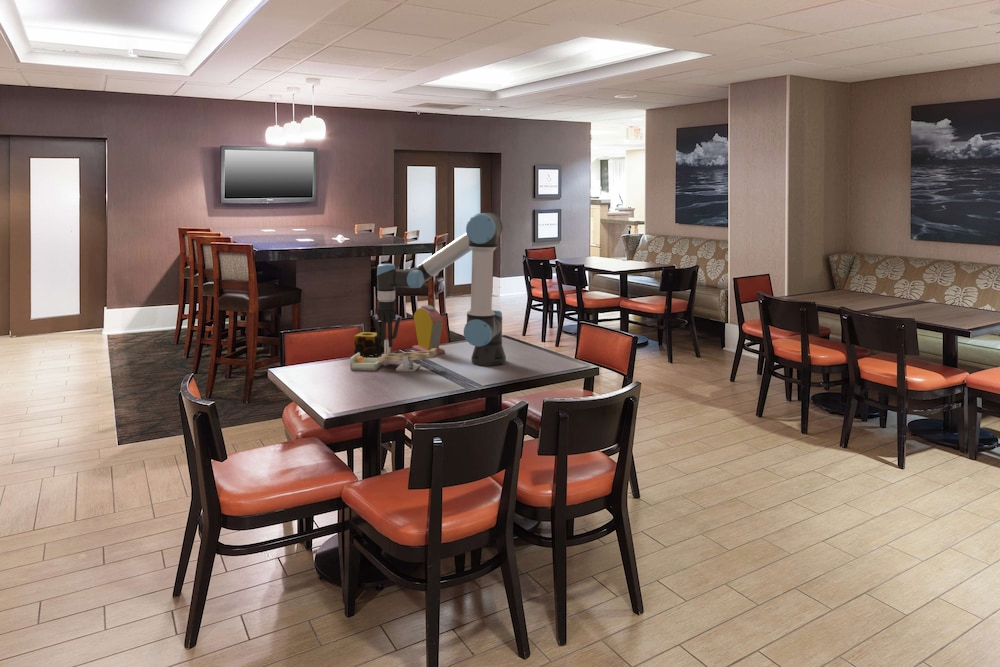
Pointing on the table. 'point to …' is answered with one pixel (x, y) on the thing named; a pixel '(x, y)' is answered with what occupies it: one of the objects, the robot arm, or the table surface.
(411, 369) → the fulcrum
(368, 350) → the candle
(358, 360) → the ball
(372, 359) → the tray
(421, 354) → the beige piece
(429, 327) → the pink yellow-faced device
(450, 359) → the table surface
